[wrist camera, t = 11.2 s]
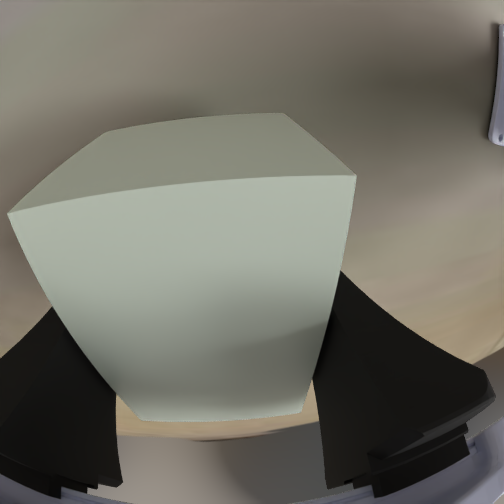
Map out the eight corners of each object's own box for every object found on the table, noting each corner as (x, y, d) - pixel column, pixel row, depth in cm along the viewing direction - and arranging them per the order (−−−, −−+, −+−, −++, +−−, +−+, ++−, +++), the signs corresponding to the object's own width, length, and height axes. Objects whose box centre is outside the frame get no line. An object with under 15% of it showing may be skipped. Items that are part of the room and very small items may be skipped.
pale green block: (283, 112, 8) (356, 176, 4) (277, 304, 13) (300, 412, 9) (105, 132, 8) (7, 213, 4) (155, 312, 13) (141, 420, 9)
